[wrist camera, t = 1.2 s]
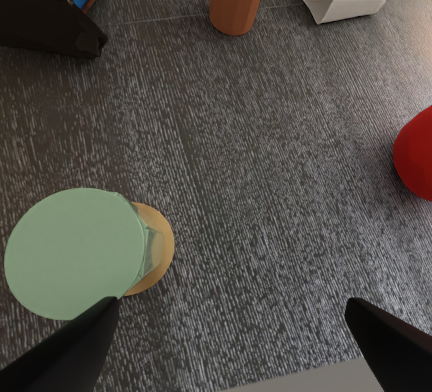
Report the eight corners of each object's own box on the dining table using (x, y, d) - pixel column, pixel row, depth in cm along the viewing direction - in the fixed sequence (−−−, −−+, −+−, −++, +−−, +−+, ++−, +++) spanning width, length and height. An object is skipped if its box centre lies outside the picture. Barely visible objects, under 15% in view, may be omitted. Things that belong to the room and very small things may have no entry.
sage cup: (120, 299, 20) (56, 354, 10) (75, 244, 20) (-26, 244, 10) (177, 249, 21) (169, 253, 12) (134, 199, 22) (94, 164, 12)
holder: (120, 314, 20) (94, 342, 14) (64, 243, 21) (17, 243, 15) (192, 249, 22) (194, 251, 17) (138, 187, 23) (122, 168, 17)
